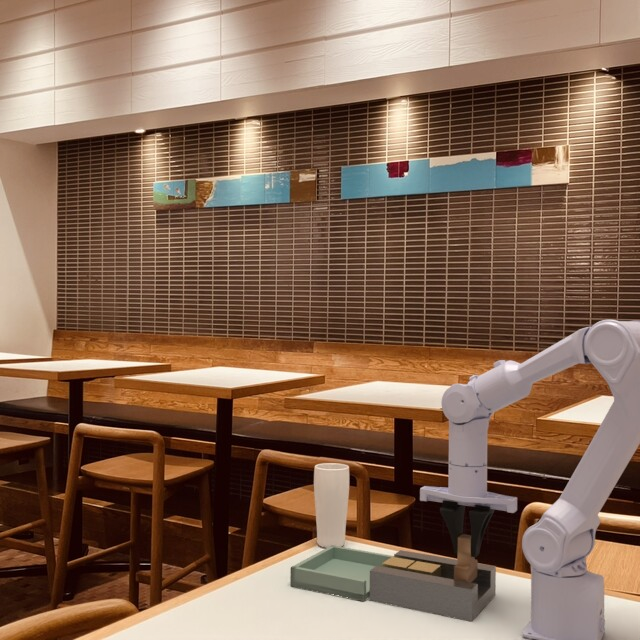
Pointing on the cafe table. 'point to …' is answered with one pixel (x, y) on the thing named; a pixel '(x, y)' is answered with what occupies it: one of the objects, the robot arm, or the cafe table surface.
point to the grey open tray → (434, 587)
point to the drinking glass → (331, 503)
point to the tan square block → (425, 568)
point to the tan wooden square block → (398, 563)
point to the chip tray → (338, 572)
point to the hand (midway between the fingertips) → (466, 553)
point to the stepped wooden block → (465, 561)
